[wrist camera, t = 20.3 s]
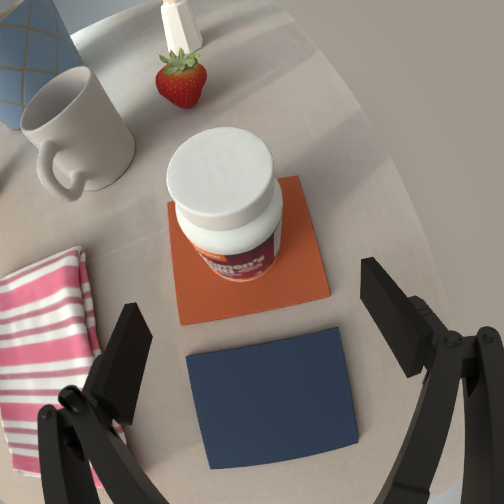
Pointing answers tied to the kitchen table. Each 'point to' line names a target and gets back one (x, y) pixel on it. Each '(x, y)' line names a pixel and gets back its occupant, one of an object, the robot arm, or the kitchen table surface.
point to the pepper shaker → (180, 27)
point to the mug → (77, 134)
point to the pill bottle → (228, 201)
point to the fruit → (181, 79)
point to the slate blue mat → (273, 400)
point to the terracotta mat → (262, 288)
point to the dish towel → (44, 347)
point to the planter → (31, 54)
